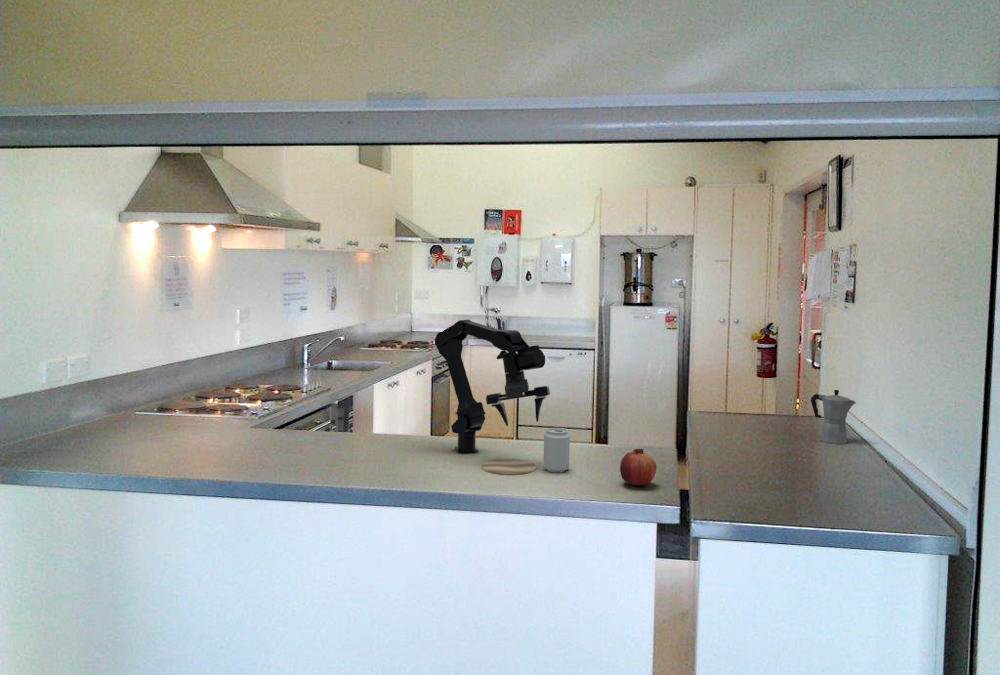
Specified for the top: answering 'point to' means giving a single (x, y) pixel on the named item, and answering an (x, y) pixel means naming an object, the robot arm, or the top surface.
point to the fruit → (637, 468)
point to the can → (556, 449)
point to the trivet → (509, 466)
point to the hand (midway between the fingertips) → (522, 423)
